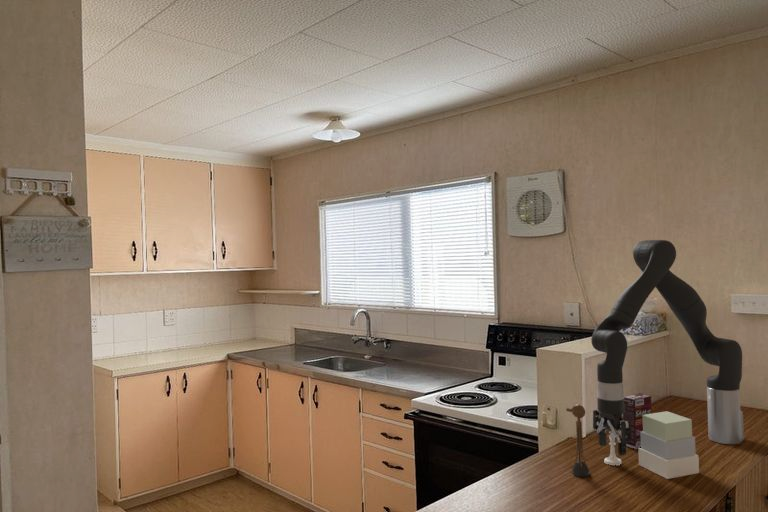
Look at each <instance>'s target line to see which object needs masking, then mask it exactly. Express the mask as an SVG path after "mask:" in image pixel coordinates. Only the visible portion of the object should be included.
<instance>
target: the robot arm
mask: <svg viewBox="0 0 768 512" xmlns="http://www.w3.org/2000/svg"><path fill="white" fill-rule="evenodd" d="M632 255H633V260H634V262H635V264H636V266H637V267H638V268H639V269H640V271H641V272H642V273H641V275H640V276H639V277H637V279H636V280H635V281H633V283H631V284H630V285H629V286H628V287H627V288H626V289H624V290H623V291H622V293H621V294H620V296H619V297H618V298H617V299H616V302H615V303H614V304H613V307H612V308H611V310H610V313H609V314H608V315H607V316H606V317H605V318H604V319H603V320H602V321H601V322H600V323H599V325H597V327H596V328H595V329H594V331H593V333H592V335H591V345H592V348H593V349H594V350H596V351H598V352H601V353H605V354H606V357H605V359H604V360H601V361H599V362H598V363H597V368H596V369H597V370H596V373H597V374H596V375H597V377H596V378H597V385H596V396H597V397H596V400H597V401H596V403H597V409H595V410H593V411H592V414H593V415H592V429H593V430H596V433H597V434H598V435H597V436H598V445H599V446H600V447H604V446H607V445H608V444H607V430H609V431H612V432H613V435H615V436H616V438H615V439H616V440H617V454H618V455H619V456H625V455H626V454H627V446H626V442H630V441H632V438H631V424H630V421H624V420H623V413H624V397H625V388H624V382H623V381H624V380H623V367H624V363H625V360H626V355H627V351H628V341H627V338H626V336H625V334H624V333H622V332H621V331H622V330H626V329H629V328H631V327H632V326H633V324H634V323H635V320H636V318H637V316H638V315H639V313H640V312H641V308H642V307H643V306H644V304H645V302H646V300H647V299H648V298H649V296H650V295H651V293H652V292H653V291H654V289H656V290H657V291H658V292H659V294H660V295H661V297H662V298H663V300H664V301H665V302H666V304H667V305H668V306H669V308H670V310H671V311H672V313H673V314H674V316H675V317H676V318H677V320H678V321H679V322H680V324H681V325H682V327H683V329H684V330H685V331H686V333H687V335H688V337H689V338H690V340H691V341H692V343H693V345H694V347H695V349H696V351H697V353H698V355H699V356H700V357H701V359H702V360H703V361H704V362H705V363H706V364H708V365H711V366H716V367H719V368H718V374H716V375H711V376H710V375H709V376H708V377H707V378H706V399H707V401H706V402H707V430H708V439H709V440H710V441H713V442H714V443H718V444H723V445H738V444H739V445H740V444H741V443H742V442H743V441H744V435H745V434H744V412H743V411H742V410H741V397H740V396H741V393H740V391H741V390H740V387H741V386H740V385H741V381H742V377H743V349H742V347H741V344H740V343H739V342H738V341H737V340H734V339H729V338H723V337H716V336H715V335H714V333H712V331H711V330H710V328H709V327H708V325H707V322H706V321H707V317H708V316H707V313H708V312H707V306H706V304H705V302H704V301H703V299H702V298H701V296H700V295H699V293H698V292H697V291H696V289H694V288H693V286H692V285H690V284H689V283H687V282H686V281H684V280H683V279H682V278H680V277H679V276H677V275H676V274H674V273H673V272H672V271H671V270H670V269H672V267H673V265H674V263H675V261H676V258H677V257H676V256H677V250H676V247H675V245H674V244H673V243H672V242H671V241H670V240H666V239H650V240H649V239H648V240H642V241H639V242H637V243H636V244H635V245H634V246H633V249H632ZM626 434H627V437H626Z"/></svg>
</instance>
